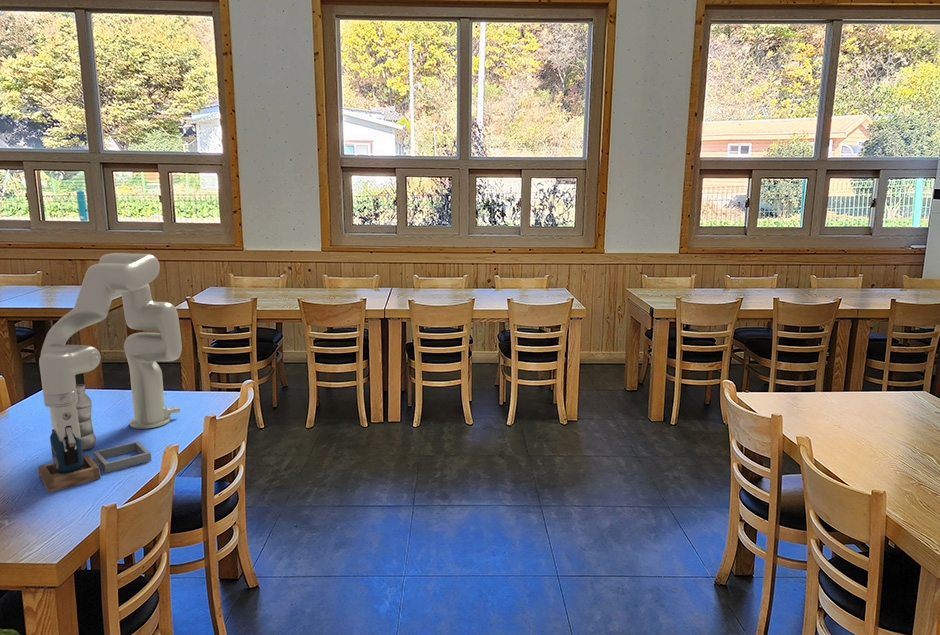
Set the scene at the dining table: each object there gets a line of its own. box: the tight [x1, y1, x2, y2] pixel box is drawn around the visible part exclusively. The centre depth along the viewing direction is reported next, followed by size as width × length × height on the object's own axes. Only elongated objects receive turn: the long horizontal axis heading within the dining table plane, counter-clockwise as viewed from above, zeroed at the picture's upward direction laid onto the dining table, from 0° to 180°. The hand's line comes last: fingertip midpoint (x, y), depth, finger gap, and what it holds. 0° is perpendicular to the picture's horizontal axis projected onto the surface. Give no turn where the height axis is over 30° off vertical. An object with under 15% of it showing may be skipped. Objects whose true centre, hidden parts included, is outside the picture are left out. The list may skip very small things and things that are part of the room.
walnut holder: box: [37, 454, 101, 493], centre depth 167 cm, size 12×12×3 cm
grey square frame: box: [93, 440, 152, 474], centre depth 179 cm, size 12×12×2 cm
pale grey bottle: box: [75, 384, 97, 451], centre depth 185 cm, size 6×7×20 cm
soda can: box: [49, 429, 84, 474], centre depth 166 cm, size 7×7×12 cm
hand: (68, 458), depth 167 cm, fingers closed on soda can, 6 cm apart
